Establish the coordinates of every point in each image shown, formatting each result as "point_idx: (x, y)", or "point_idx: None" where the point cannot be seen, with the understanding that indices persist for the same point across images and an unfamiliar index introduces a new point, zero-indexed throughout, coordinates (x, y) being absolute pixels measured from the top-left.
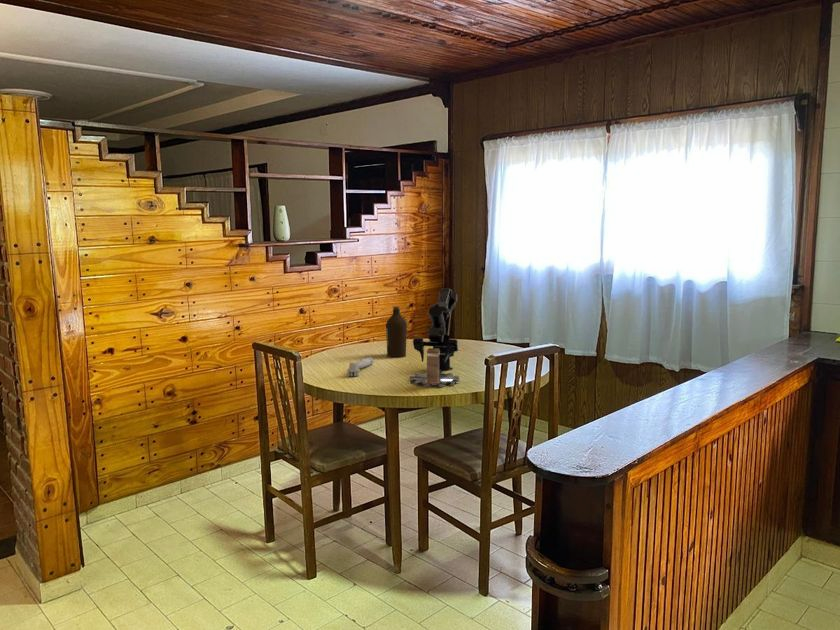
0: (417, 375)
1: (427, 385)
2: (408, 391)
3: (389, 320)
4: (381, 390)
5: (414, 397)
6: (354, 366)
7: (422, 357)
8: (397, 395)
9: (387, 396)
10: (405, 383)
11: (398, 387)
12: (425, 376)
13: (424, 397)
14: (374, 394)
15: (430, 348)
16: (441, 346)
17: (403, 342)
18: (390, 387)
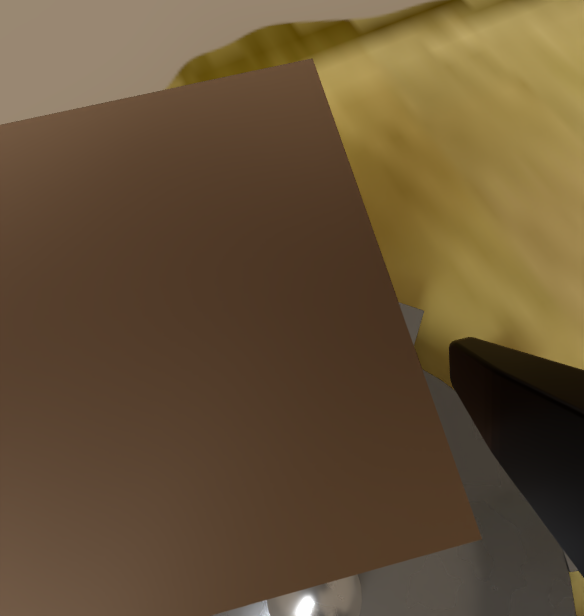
0: (558, 603)
1: None
2: (364, 148)
3: None
4: (559, 93)
5: (254, 52)
6: None
7: (497, 357)
8: (382, 45)
9: (428, 7)
10: (529, 348)
11: (500, 208)
12: (439, 597)
13: (191, 76)
14: (532, 8)
15: (373, 542)
16: None
17: None
18: (557, 182)
